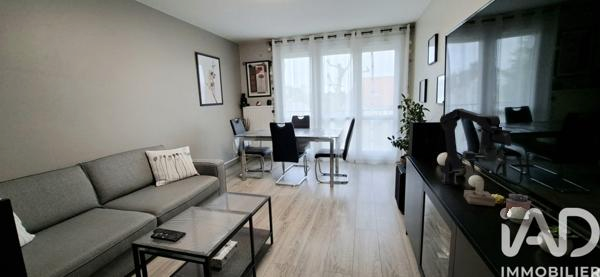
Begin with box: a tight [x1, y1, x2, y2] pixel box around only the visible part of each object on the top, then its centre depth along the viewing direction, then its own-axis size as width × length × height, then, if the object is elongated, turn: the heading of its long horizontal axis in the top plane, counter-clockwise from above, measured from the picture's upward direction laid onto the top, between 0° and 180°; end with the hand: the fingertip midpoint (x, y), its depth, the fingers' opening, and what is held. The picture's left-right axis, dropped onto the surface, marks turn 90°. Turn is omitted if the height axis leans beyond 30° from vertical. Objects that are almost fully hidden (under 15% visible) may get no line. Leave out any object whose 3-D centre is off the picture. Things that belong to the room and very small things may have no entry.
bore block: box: [463, 189, 496, 207], centre depth 121 cm, size 9×10×4 cm
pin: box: [474, 181, 485, 196], centre depth 120 cm, size 3×3×8 cm
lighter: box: [504, 193, 532, 218], centre depth 104 cm, size 8×3×10 cm, turn 71°
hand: (484, 172), depth 125 cm, fingers open, 9 cm apart
